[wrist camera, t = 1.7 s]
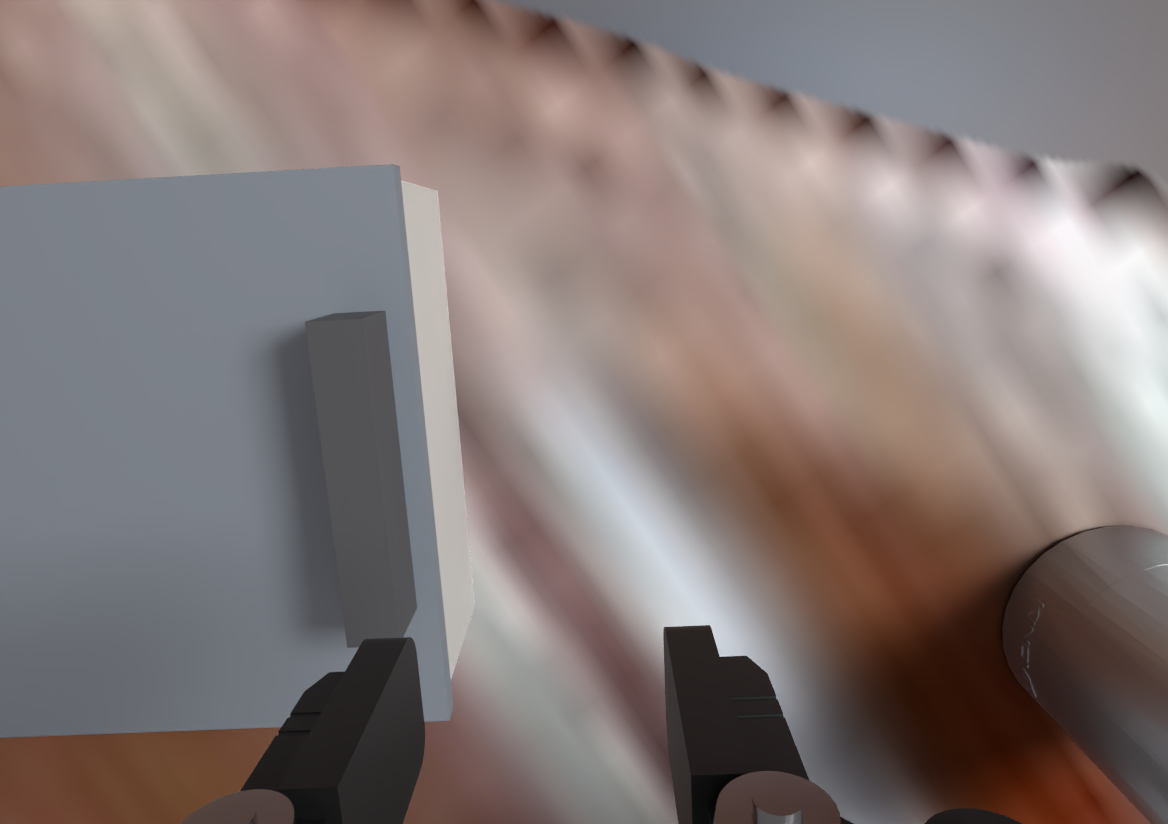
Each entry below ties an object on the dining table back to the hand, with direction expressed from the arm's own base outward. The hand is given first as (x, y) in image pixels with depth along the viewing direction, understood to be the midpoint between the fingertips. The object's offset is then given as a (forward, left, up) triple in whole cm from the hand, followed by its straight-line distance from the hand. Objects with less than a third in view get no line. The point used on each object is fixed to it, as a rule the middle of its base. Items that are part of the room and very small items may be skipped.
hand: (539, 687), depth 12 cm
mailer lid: (+15, 0, -14) cm, 20 cm away
